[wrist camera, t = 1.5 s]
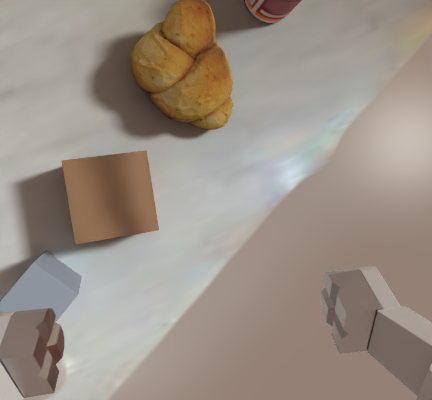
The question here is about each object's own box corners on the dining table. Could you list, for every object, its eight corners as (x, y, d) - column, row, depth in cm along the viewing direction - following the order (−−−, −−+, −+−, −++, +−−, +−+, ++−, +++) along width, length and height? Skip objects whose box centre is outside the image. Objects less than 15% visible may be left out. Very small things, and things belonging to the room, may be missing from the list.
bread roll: (242, 115, 49) (269, 98, 41) (173, 155, 46) (189, 145, 38) (187, 16, 47) (205, -21, 39) (113, 52, 44) (116, 20, 37)
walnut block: (77, 240, 43) (75, 244, 38) (65, 165, 43) (61, 160, 38) (152, 227, 45) (158, 230, 41) (141, 156, 45) (146, 150, 40)
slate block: (53, 311, 42) (42, 338, 34) (16, 286, 41) (-6, 308, 33) (81, 276, 43) (78, 294, 34) (45, 250, 42) (33, 262, 33)
